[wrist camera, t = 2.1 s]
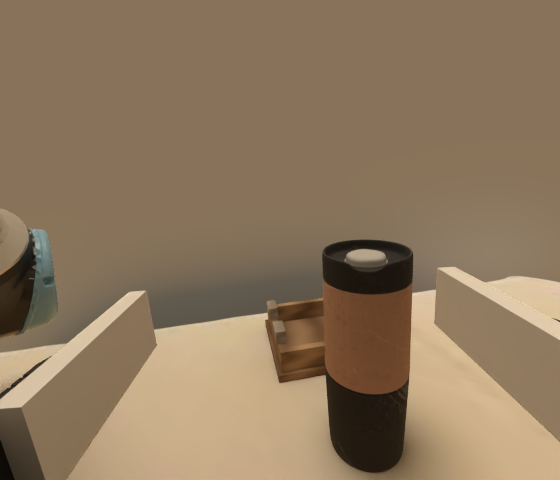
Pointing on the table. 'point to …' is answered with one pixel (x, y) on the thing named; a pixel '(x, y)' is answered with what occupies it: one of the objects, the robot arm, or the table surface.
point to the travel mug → (367, 349)
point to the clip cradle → (297, 338)
